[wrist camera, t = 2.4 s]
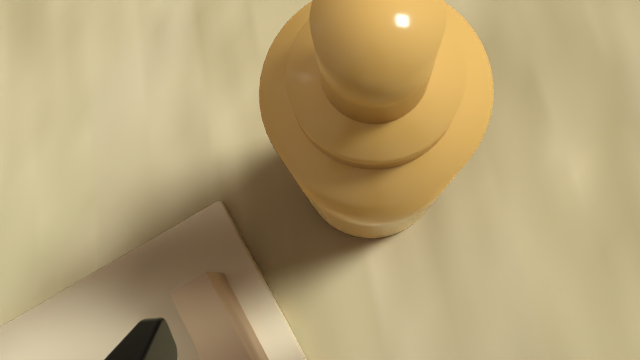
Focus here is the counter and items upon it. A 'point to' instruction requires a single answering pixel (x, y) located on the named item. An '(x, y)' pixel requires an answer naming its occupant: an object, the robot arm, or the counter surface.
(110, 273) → the u rest
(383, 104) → the amber bottle
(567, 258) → the counter surface
